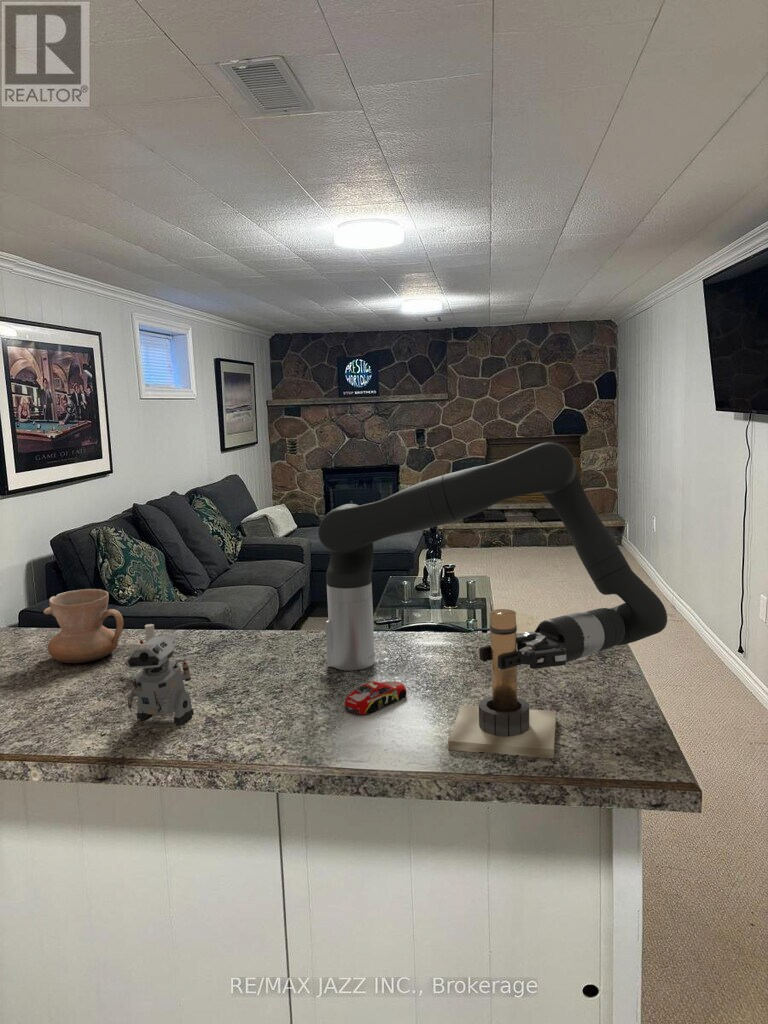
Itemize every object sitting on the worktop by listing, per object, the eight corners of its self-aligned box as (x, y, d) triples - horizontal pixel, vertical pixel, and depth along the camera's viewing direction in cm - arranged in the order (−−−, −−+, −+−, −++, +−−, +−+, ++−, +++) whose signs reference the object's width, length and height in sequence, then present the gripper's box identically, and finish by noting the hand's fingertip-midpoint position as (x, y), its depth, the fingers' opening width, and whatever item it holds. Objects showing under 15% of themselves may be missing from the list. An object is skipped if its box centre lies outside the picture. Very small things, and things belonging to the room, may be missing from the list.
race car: (391, 690, 143) (391, 670, 143) (412, 697, 139) (412, 676, 139) (339, 711, 134) (338, 689, 134) (360, 719, 130) (359, 697, 130)
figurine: (115, 735, 127) (107, 649, 125) (156, 708, 138) (150, 629, 136) (161, 741, 124) (153, 653, 122) (199, 713, 135) (193, 632, 133)
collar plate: (448, 750, 117) (447, 719, 117) (461, 713, 131) (461, 685, 130) (553, 758, 113) (553, 727, 113) (556, 719, 127) (556, 691, 126)
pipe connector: (117, 677, 154) (113, 630, 153) (149, 661, 163) (145, 616, 162) (157, 683, 150) (153, 634, 149) (187, 666, 160) (184, 620, 158)
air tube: (490, 713, 120) (488, 616, 118) (493, 702, 124) (491, 608, 122) (517, 714, 119) (515, 616, 117) (519, 704, 123) (517, 609, 121)
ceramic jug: (29, 667, 162) (23, 603, 160) (68, 645, 176) (63, 586, 174) (107, 671, 159) (102, 606, 157) (140, 648, 173) (135, 588, 171)
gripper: (540, 606, 133) (462, 625, 124) (601, 625, 121) (519, 647, 112) (541, 647, 134) (463, 668, 125) (601, 670, 122) (520, 695, 113)
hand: (490, 658), depth 119 cm, fingers closed on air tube, 4 cm apart
